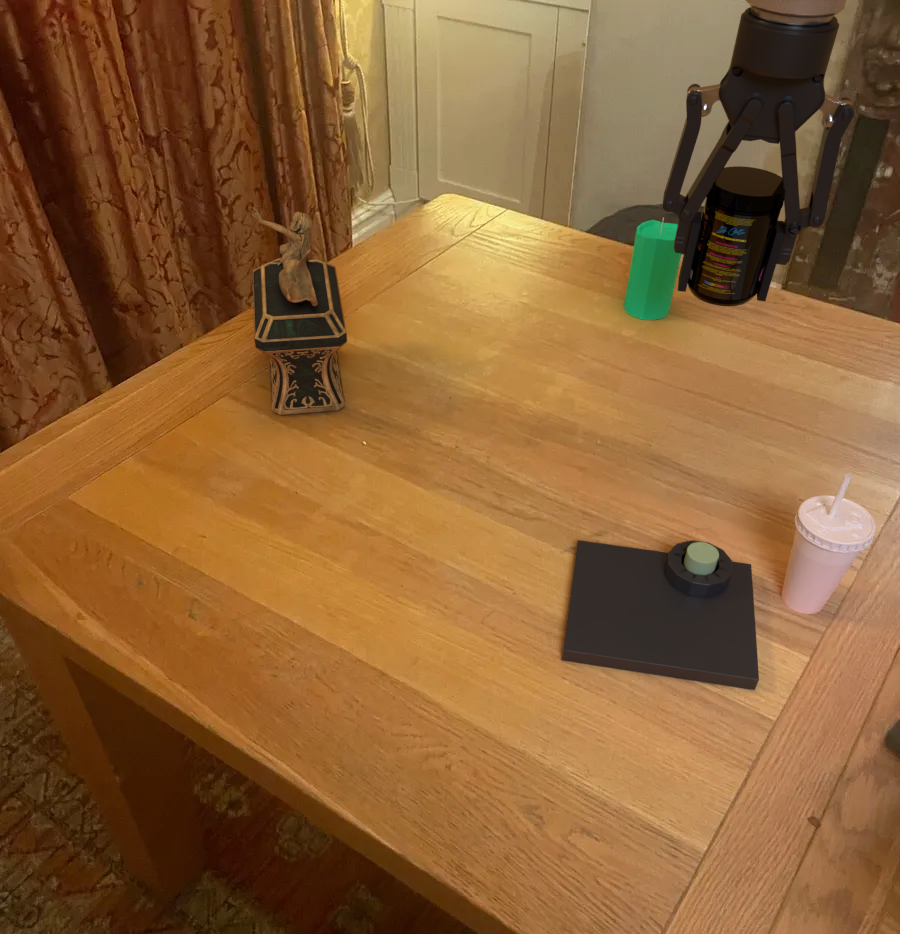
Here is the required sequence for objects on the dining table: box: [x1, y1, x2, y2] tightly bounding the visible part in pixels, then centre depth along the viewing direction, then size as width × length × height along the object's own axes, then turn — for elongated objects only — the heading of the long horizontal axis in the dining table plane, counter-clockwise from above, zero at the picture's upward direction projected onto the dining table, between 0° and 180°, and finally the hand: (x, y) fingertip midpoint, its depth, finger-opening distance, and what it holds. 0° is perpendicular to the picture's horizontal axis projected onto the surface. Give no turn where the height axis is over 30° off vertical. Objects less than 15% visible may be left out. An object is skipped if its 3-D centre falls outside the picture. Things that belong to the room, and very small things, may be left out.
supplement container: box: [687, 165, 786, 307], centre depth 84 cm, size 7×7×10 cm
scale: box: [561, 539, 760, 691], centre depth 79 cm, size 16×14×3 cm
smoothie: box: [781, 473, 877, 615], centre depth 77 cm, size 6×6×14 cm
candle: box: [623, 216, 682, 321], centre depth 115 cm, size 6×6×12 cm
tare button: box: [684, 541, 719, 575], centre depth 81 cm, size 3×3×2 cm
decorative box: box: [250, 206, 348, 416], centre depth 97 cm, size 20×10×20 cm, turn 9°
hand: (721, 289), depth 87 cm, fingers closed on supplement container, 7 cm apart
